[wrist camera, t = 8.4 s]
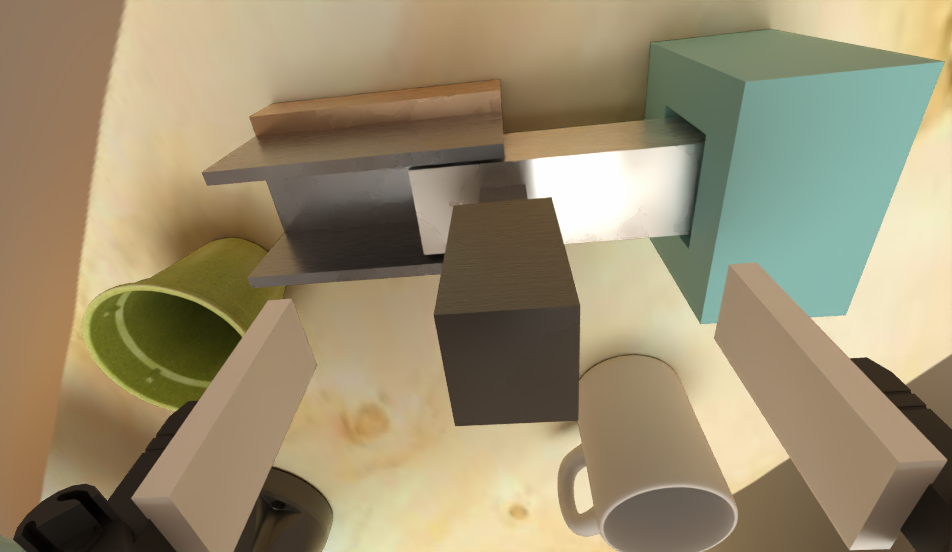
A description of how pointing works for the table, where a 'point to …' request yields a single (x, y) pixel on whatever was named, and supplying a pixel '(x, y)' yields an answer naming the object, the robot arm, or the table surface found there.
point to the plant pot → (177, 323)
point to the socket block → (787, 157)
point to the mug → (644, 463)
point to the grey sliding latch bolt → (540, 252)
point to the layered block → (358, 176)
